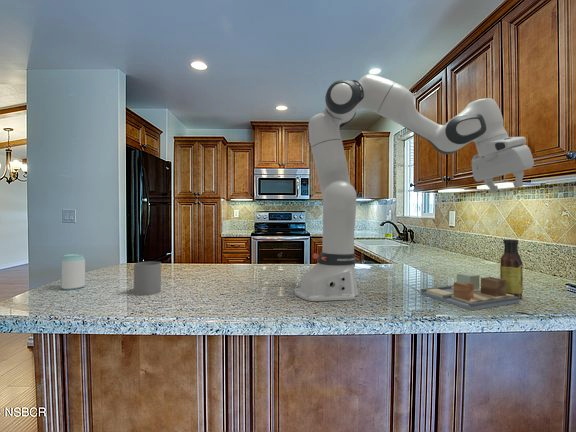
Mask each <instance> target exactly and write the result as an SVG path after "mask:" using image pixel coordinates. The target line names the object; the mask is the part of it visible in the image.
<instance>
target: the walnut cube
mask: <svg viewBox="0 0 576 432" xmlns="http://www.w3.org/2000/svg"><path fill="white" fill-rule="evenodd" d="M480 289H481V293H483V294H487V295H491V296H495V297H498V296H505V295H506V280H504V279H500V277H499V278H498V277H493V276H488V277H481V278H480Z"/></svg>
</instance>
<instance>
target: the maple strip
mask: <svg viewBox="0 0 576 432" xmlns="http://www.w3.org/2000/svg"><path fill="white" fill-rule="evenodd" d="M453 285H454V295H452V296H451V298H453V299H456V300H460V301H463V302H466V303H474V302H481V301H488V300H495V299H502V298H508V297H514V295H510V294H506V295H505V296H498V297H495V296H491V295H487V294H483V293H481V292H475V293H474V283H464V284H461V283H457V281H456V282H453Z"/></svg>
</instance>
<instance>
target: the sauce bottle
mask: <svg viewBox="0 0 576 432" xmlns="http://www.w3.org/2000/svg"><path fill="white" fill-rule="evenodd" d="M503 244H504V245H503V247H504V249H503V251H504V252H503V254H502V255H501V258H500V266H499V275H500V276H499V279H504V280H506V294H510V295H514V297H515V296H516V297H519V299H522V297H523V292H524V291H523V290H524V289H523V287H524V286H523V284H524V283H523V281H524V280H523V279H524V278H523V277H524V276H523V275H524V274H523V272H524V271H523V261H522V259H521V256H520V254H519V249H518V248H519V247H518V245H519V239H512V238H507V239H505V238H504V239H503Z"/></svg>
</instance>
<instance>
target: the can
mask: <svg viewBox="0 0 576 432" xmlns="http://www.w3.org/2000/svg"><path fill="white" fill-rule="evenodd" d="M84 286H86V258H85V257H84V254H83V253H70V254H68V253H67V254H64V255H63V257H62V259H61V260H60V288H61V289H63V290H65V291H73V290H74V291H75V290H78V289H80V290H81V289H83V287H84Z"/></svg>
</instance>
